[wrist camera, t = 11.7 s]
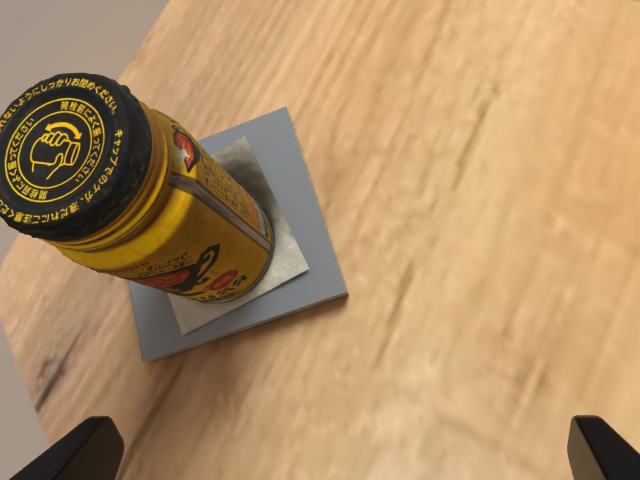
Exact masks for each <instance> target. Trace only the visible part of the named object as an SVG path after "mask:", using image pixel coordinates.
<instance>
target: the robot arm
mask: <svg viewBox="0 0 640 480" xmlns="http://www.w3.org/2000/svg"><path fill="white" fill-rule="evenodd" d="M567 451H568V458H569V462H570V466H571V470H572V474H573V478H574V480H640V454H639V453H638V452H637V451H636V450H635V449H634V448H633V447H632V446H631V445H630V444H629V443H628V442H627V441H625V440H624V439H623V438H622V437H621V436H620V435H619V434H618V433H617V432H616V431H615V430H614V429H613V428H612V427H611V426H609V425H608V424H607V423H606V422H605V421H604V420H603V419H602V418H600V417H598V416H595V415H576V416H574V417H573V418H572V420H571V424H570V431H569V438H568V444H567ZM123 453H124V441H123V439H122V437H121V435H120V433H119V431H118V429H117V427H116V425H115V424H114V422H113V420H112V419H111V418H110V417H108V416H92V417H89V418H87V419H86V420H84V421H83V422H82V423H81V424H79V425H78V426H77V427H75V428H74V429H73V430H72V431H70V432H69V433H68V434H67V435H65V436H64V437H63V438H61V439H60V440H59V441H58V442H56V443H55V444H54V445H52V446H51V447H50V448H49V449H47V450H46V451H45V452H44V453H42V454H41V455H40V456H38V457H37V458H36V459H35V460H33V461H32V462H31V463H30V464H28V465H27V466H26V467H24V468H23V469H22V470H21V471H19V472H18V473H17V474H16V475H14V476H13V477H12V478H10V479H9V480H115V479H116V475H117V472H118V469H119V466H120V463H121V460H122V457H123Z"/></svg>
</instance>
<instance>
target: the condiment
mask: <svg viewBox="0 0 640 480" xmlns="http://www.w3.org/2000/svg"><path fill="white" fill-rule="evenodd" d="M0 217H2V218H3V219H4V220H5V222H6V223H7V224H8V226H10V227H12V228H14V229H16V230H18V231H19V232H20V233H23V234H26V235H30V236H32V237H33V238H39V239H41V240H43V241H45V242H47V243H49V244H51V245H53V246H55V247H56V248H57V249H58V250H59V251H60V252H61V253H62V254H63V255H64V256H66V257H68V258H69V259H71V260H72V261H74V262H76V263H78V264H80V265H83V266H86V267H88V268H90V269H92V270H95V271H97V272H99V273H106V274H110V275H114V276H117V277H120V278H123V279H127V280H130V281H133V282H136V283H138V284H141V285H145V286H149V287H152V288H155V289H158V290H161V291H163V292H166V293H167V294H168V296H169V299H170V301H171V304H172V307H173V311H174V313H175V315H176V318H177V321H178V324H179V327H180V330H181V335H184V334H186V333H188V332H190V331H192V330H194V329H196V328H198V327H200V326H202V325H204V324H206V323H208V322H209V321H211V320H213V319H216V318H218V317H219V316H221V315H223V314H225V313H227V312H229V311H231V310H233V309H235V308H237V307H239V306H241V305H243V304H244V303H246V302H248V301H250V300H252V299H254V298H256V297H257V296H259V295H261V294H263V293H265V292H267V291H269V290H271V289H272V288H274V287H276V286H278V285H280V284H281V283H283V282H285V281H287V280H289V279H291V278H292V277H294V276H296V275H298V274H300V273H302V272H304V271H306V270H308V269H309V267H308V265H307V263H306V261H305V258H304V256H303V254H302V252H301V250H300V248H299V246H298V244H297V242H296V240H295V238H294V236H293V234H292V232H291V230H290V227H289V225H288V223H287V221H286V219H285V217H284V215H283V213H282V211H281V209H280V207H279V205H278V203H277V201H276V199H275V196H274V195H273V193H272V191H271V189H270V187H269V185H268V183H267V180H266V178H265V176H264V174H263V172H262V170H261V168H260V166H259V163H258V162H257V160H256V158H255V156H254V154H253V152H252V150H251V148H250V146H249V143H248V141H247V139H246V137H245V136H243V137H241V138H240V139H238V140H236V141H234V142H233V143H232V144H231V145H229V146H228V147H225V148H224V149H222V150H220V151H219V152H217V153H215V154H213V155H211V156H210V155H209V154H208V153H207V152H206V151H205V150H204V149H203V147H202V146H200V144H199V143H198V142H197V141H196V140H195V139H194V138H193V137H192V136H191V135H190V134H189V133H188V132H187V131H186V129H184V128H183V127H182V126H181V125H180V124H179V123H178V122H176V121H175V120H173V119H172V118H170V117H168V116H167V115H165V114H163V113H161V112H159V111H158V110H155V109H149V108H148V107H147V105H146V104H145V103H143V102H141V101H139V100H138V99H137V98H136V97H135V96H133V95H132V94H131V92H130V90H129V88H128V87H127V86H125V85H120V84H119V83H118V82H116V81H115V80H113V79H110V78H107V77H105V76H102V75H96V74H87V73H67V74H58V75H55V76H54V77H51V78H49V79H46V80H44V81H41V82H39V83H38V84H36V85H34V86H33V87H31V88H29V89H28V90H27V91H26V92H24V93H23V94H22V95H21V96H20V97H18V98H17V99H16V100H14V101H13V102H12V103H11V104H10V105H9V106H8V108H7V109H6V111H5V112H4V113H3V114H2V116H1V117H0Z"/></svg>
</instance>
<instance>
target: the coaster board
mask: <svg viewBox="0 0 640 480" xmlns="http://www.w3.org/2000/svg"><path fill="white" fill-rule="evenodd" d="M243 136H245V137H246V139H247V141H248V143H249V146H250V148H251V150H252V152H253V154H254V156H255V158H256V160H257V162H258V163H259V166H260V168H261V170H262V172H263V174H264V176H265V178H266V180H267V183H268V185H269V187H270V189H271V191H272V193H273V195H274V196H275V199H276V201H277V203H278V205H279V207H280V209H281V211H282V213H283V215H284V217H285V219H286V221H287V223H288V225H289V227H290V230H291V232H292V234H293V236H294V238H295V240H296V242H297V244H298V246H299V248H300V250H301V252H302V254H303V256H304V258H305V261H306V263H307V265H308V267H309V269H308V270H306V271H304V272H302V273H300V274H298V275H296V276H294V277H292V278H291V279H289V280H287V281H285V282H283V283H281V284H280V285H278V286H276V287H274V288H272V289H271V290H269V291H267V292H265V293H263V294H261V295H259V296H257V297H256V298H254V299H252V300H250V301H248V302H246V303H244V304H243V305H241V306H239V307H237V308H235V309H233V310H231V311H229V312H227V313H225V314H223V315H221V316H219V317H218V318H216V319H213V320H211V321H209V322H208V323H206V324H204V325H202V326H200V327H198V328H196V329H194V330H192V331H190V332H188V333H186V334H184V335H181V330H180V327H179V324H178V321H177V318H176V315H175V313H174V311H173V307H172V304H171V301H170V299H169V296H168V294H167V293H166V292H163V291H161V290H158V289H155V288H152V287H149V286H145V285H141V284H138V283H136V282H133V281H130V280H129V286H130V292H131V297H132V303H133V309H134V315H135V321H136V326H137V332H138V338H139V344H140V349H141V355H142V361H143V362H152V361H155V360H158V359H161V358H164V357H167V356H170V355H173V354H176V353H179V352H182V351H185V350H188V349H190V348H193V347H196V346H199V345H202V344H205V343H208V342H211V341H214V340H217V339H220V338H223V337H226V336H229V335H231V334H234V333H237V332H240V331H243V330H246V329H249V328H252V327H255V326H258V325H261V324H264V323H267V322H269V321H272V320H275V319H278V318H281V317H284V316H287V315H290V314H293V313H296V312H299V311H302V310H305V309H308V308H310V307H313V306H316V305H319V304H322V303H325V302H328V301H331V300H334V299H337V298H340V297H343V296H346V295H348V294H349V293H348V290H347V287H346V284H345V281H344V278H343V275H342V272H341V269H340V265H339V262H338V259H337V256H336V253H335V250H334V247H333V244H332V241H331V238H330V235H329V232H328V229H327V226H326V223H325V220H324V217H323V214H322V211H321V207H320V204H319V201H318V198H317V195H316V192H315V189H314V186H313V183H312V180H311V177H310V174H309V171H308V168H307V165H306V162H305V159H304V156H303V153H302V149H301V146H300V143H299V140H298V137H297V134H296V131H295V128H294V125H293V122H292V119H291V116H290V113H289V111H288V109H287V107H283V108H281V109H278V110H276V111H273V112H271V113H268V114H266V115H263V116H260V117H258V118H255V119H253V120H250V121H248V122H245V123H243V124H240V125H237V126H235V127H232V128H230V129H227V130H225V131H222V132H219V133H217V134H214V135H212V136H209V137H207V138H204V139H202V140H199V141H197V142H198V143H199V144H200V146H202V147H203V149H204V150H205V151H206V152H207V153H208V154H209V155H210V156H211V155H213V154H215V153H217V152H219V151H220V150H222V149H224V148H225V147H228V146H229V145H231V144H232V143H233V142H234V141H236V140H238V139H240V138H241V137H243Z"/></svg>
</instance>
